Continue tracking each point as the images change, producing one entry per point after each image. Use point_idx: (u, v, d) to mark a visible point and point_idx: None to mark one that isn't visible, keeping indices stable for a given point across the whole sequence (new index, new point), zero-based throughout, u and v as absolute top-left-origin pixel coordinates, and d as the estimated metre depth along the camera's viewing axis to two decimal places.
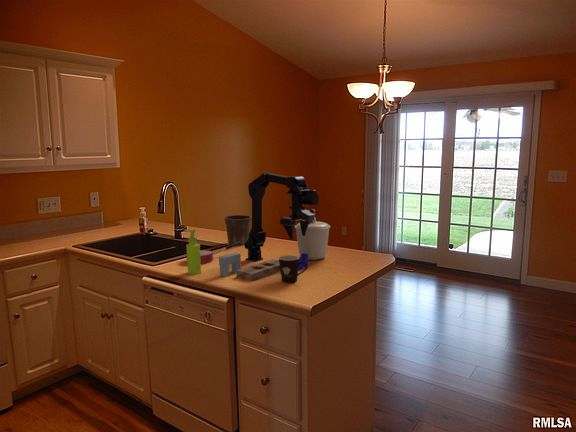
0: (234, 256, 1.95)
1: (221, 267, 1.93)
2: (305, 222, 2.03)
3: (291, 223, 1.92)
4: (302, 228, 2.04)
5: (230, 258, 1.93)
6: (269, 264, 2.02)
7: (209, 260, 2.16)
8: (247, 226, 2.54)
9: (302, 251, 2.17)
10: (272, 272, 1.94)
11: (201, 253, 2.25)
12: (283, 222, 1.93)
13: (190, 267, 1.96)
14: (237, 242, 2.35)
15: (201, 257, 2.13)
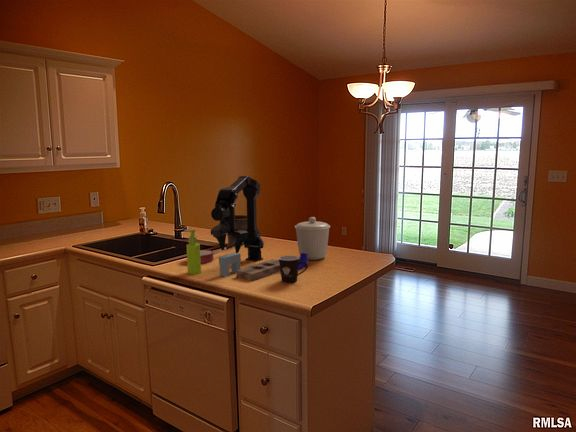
0: (234, 256, 1.95)
1: (221, 267, 1.93)
2: None
3: (211, 233, 1.96)
4: None
5: (230, 258, 1.93)
6: (269, 264, 2.02)
7: (209, 260, 2.17)
8: None
9: (302, 251, 2.17)
10: (272, 272, 1.94)
11: (201, 253, 2.25)
12: None
13: (190, 267, 1.96)
14: None
15: (201, 257, 2.14)
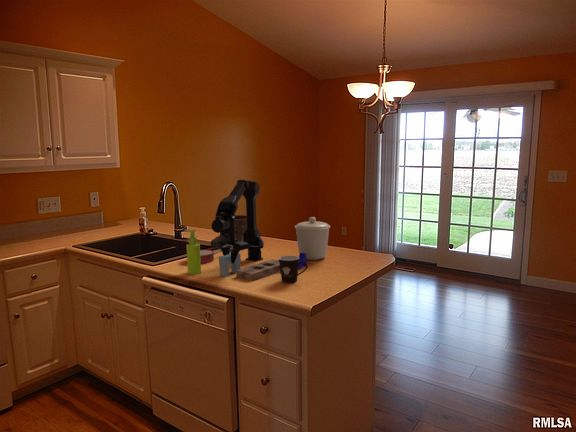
0: None
1: (221, 267, 1.93)
2: None
3: (212, 244, 1.97)
4: None
5: (230, 258, 1.93)
6: (269, 264, 2.02)
7: (210, 260, 2.17)
8: None
9: (302, 251, 2.17)
10: (272, 272, 1.94)
11: (202, 253, 2.25)
12: None
13: (190, 267, 1.96)
14: None
15: (202, 257, 2.14)
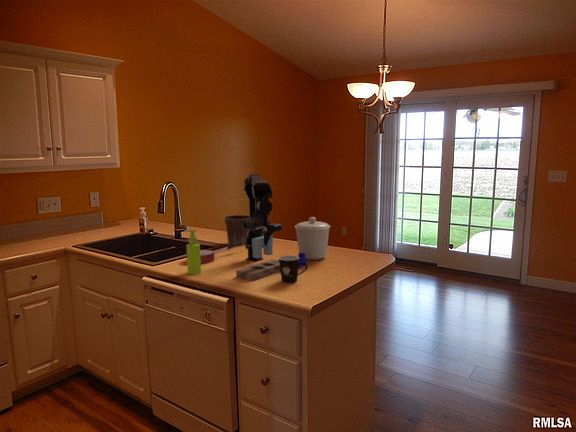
0: None
1: (254, 249, 1.92)
2: None
3: (244, 226, 1.97)
4: None
5: (263, 240, 1.93)
6: (269, 264, 2.02)
7: (211, 260, 2.17)
8: None
9: (302, 251, 2.17)
10: (272, 272, 1.94)
11: (203, 253, 2.26)
12: None
13: (190, 267, 1.96)
14: (238, 242, 2.36)
15: (203, 257, 2.14)
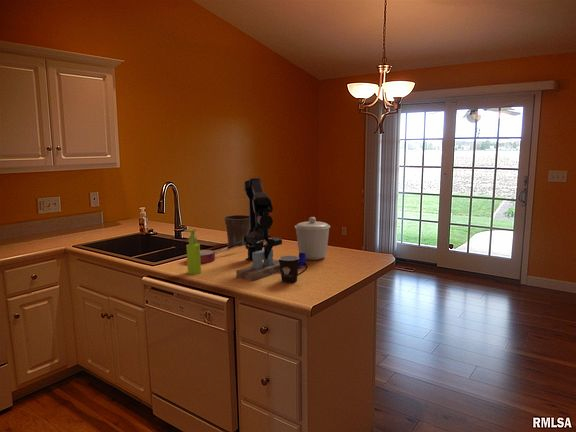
0: None
1: (254, 263, 1.93)
2: None
3: (244, 240, 1.98)
4: None
5: None
6: None
7: (211, 259, 2.17)
8: (247, 226, 2.54)
9: (302, 251, 2.17)
10: (272, 272, 1.94)
11: (203, 253, 2.26)
12: None
13: (190, 267, 1.96)
14: (239, 242, 2.36)
15: (203, 257, 2.14)
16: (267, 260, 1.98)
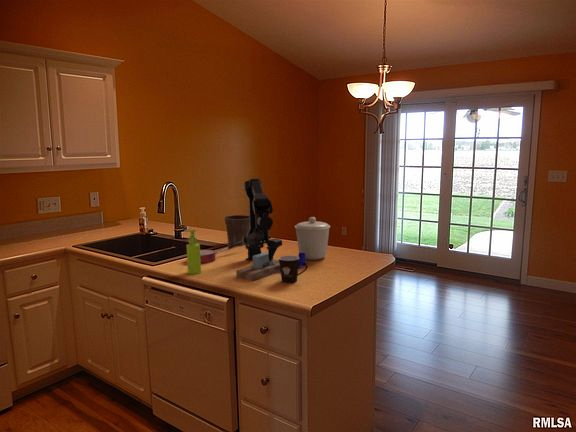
0: (267, 255, 1.96)
1: (255, 266, 1.93)
2: None
3: (244, 241, 1.98)
4: None
5: (264, 257, 1.94)
6: None
7: (212, 259, 2.17)
8: (247, 226, 2.54)
9: (302, 251, 2.17)
10: (272, 272, 1.94)
11: (204, 252, 2.26)
12: None
13: (190, 267, 1.96)
14: (239, 242, 2.36)
15: (204, 256, 2.14)
16: (267, 263, 1.98)
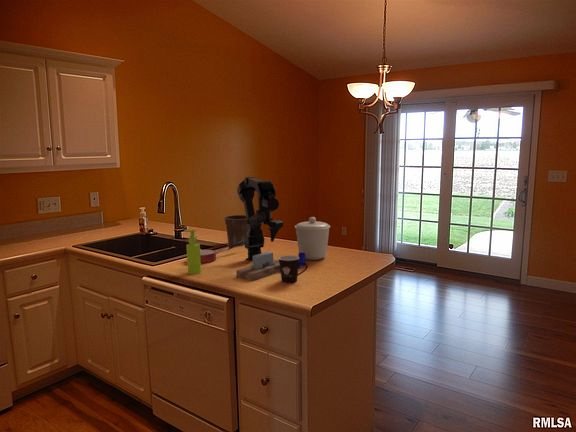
0: (267, 255, 1.96)
1: (255, 266, 1.93)
2: None
3: (248, 222, 2.07)
4: None
5: (264, 257, 1.94)
6: None
7: (212, 259, 2.17)
8: (247, 226, 2.54)
9: (302, 251, 2.17)
10: (272, 272, 1.94)
11: (204, 252, 2.26)
12: None
13: (190, 267, 1.96)
14: (240, 241, 2.36)
15: (204, 256, 2.15)
16: (267, 263, 1.98)
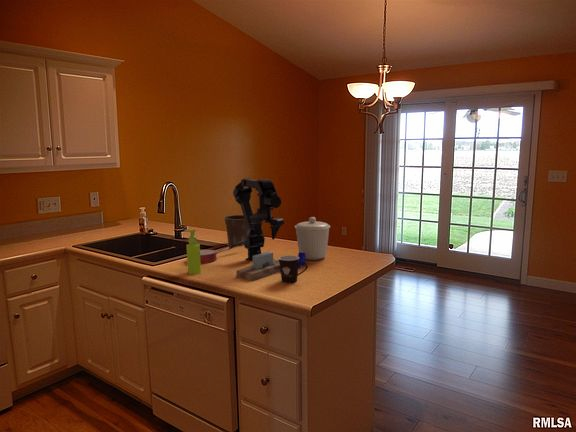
0: (267, 255, 1.96)
1: (255, 266, 1.93)
2: None
3: (248, 221, 2.10)
4: None
5: (264, 257, 1.94)
6: None
7: (213, 259, 2.18)
8: None
9: (302, 251, 2.17)
10: (272, 272, 1.94)
11: (205, 252, 2.26)
12: None
13: (190, 267, 1.96)
14: (240, 241, 2.36)
15: (205, 256, 2.15)
16: (267, 263, 1.98)
